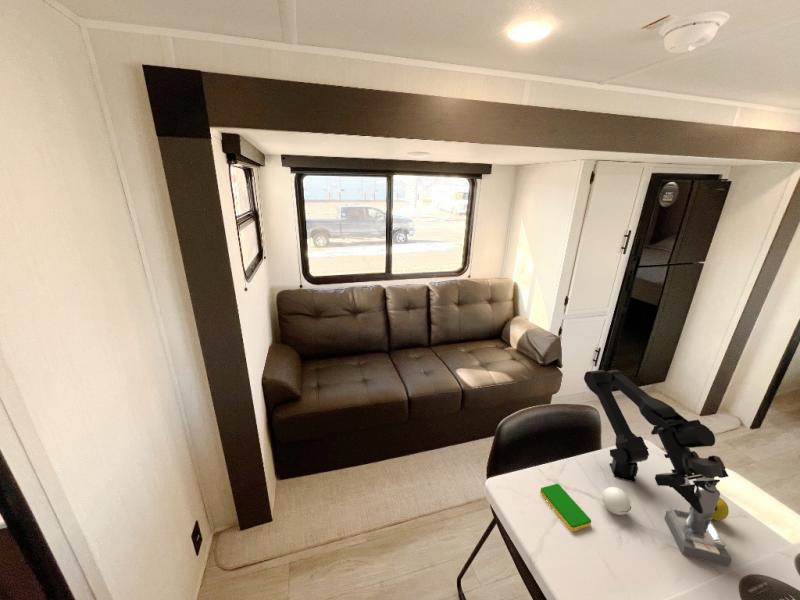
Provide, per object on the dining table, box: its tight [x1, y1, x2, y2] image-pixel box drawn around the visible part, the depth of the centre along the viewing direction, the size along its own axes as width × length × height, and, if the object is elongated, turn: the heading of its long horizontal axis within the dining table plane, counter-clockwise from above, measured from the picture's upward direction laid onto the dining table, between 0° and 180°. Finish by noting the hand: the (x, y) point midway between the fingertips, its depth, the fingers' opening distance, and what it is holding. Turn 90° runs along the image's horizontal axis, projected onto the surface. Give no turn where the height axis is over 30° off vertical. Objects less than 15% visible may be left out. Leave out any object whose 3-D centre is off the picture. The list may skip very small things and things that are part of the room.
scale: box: [663, 507, 733, 568], centre depth 89 cm, size 10×11×5 cm
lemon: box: [711, 497, 730, 521], centre depth 95 cm, size 6×6×8 cm
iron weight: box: [686, 482, 721, 533], centre depth 87 cm, size 4×4×14 cm
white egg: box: [601, 486, 632, 516], centre depth 98 cm, size 10×7×7 cm
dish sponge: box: [539, 483, 592, 532], centre depth 99 cm, size 7×14×2 cm, turn 15°
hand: (708, 511), depth 86 cm, fingers open, 4 cm apart
